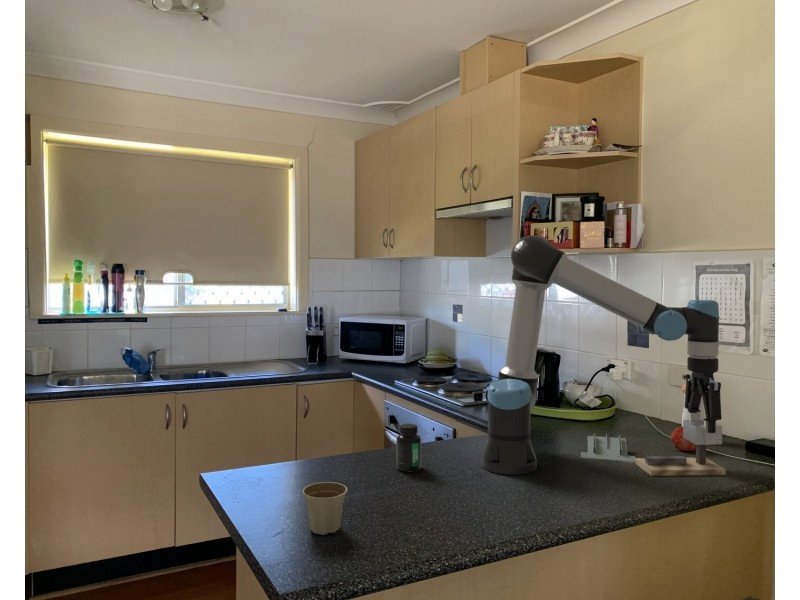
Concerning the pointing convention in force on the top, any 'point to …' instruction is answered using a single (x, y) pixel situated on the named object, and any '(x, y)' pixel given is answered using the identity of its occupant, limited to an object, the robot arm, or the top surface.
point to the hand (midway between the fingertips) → (701, 439)
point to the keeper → (680, 465)
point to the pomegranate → (681, 441)
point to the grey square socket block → (699, 432)
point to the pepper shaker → (685, 411)
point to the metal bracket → (607, 449)
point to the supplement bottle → (408, 448)
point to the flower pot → (325, 505)
